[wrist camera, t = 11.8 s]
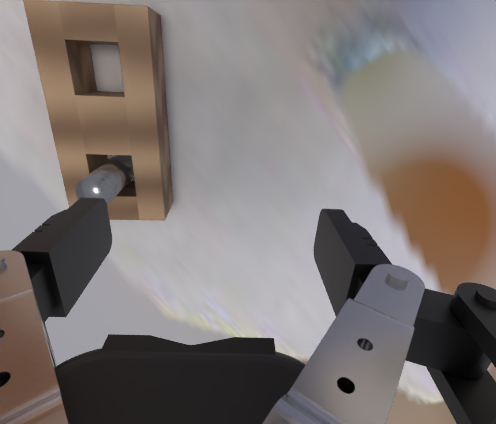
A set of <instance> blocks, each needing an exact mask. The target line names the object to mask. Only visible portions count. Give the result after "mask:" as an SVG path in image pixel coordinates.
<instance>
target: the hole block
mask: <svg viewBox="0 0 496 424" xmlns="http://www.w3.org/2000/svg"><path fill="white" fill-rule="evenodd" d="M23 2H24V7H25V11H26V16H27V20H28V24H29V29H30V33H31V38H32V42H33V47H34V51H35V56H36V60H37V65H38V69H39V74H40V78H41V83H42V87H43V92H44V96H45V101H46V105H47V110H48V114H49V119H50V123H51V128H52V132H53V137H54V141H55V146H56V150H57V154H58V159H59V163H60V168H61V172H62V177H63V181H64V186H65V190H66V195H67V199H68V204H69V207H71V206H72V205H73V204H74V203H75V202H76V201H77V200H78V198H77V196H76V186H77V184H78V183H79V182H80V181H81V180H82V179H84V178H85V177H86V176H88V175H89V174H90V173H92V172H93V171H94V170H96V169H97V168H98V167H100V166H101V165H102V164H104V163H105V162H107V155H132V162H133V170H134V178H135V181H129V182H128V183H127V184H126V186H125V187H124V188H123V189H122V190H121V191H120V192H119V193H118V194H117V195H116V196H115V198H114V199H113V200H112V201H111V202H110V203H109V204H108V205H107V208H108V214H109V219H111V220H163V221H165V219H166V217H167V214H168V212H169V210H170V208H171V206H172V203H173V197H172V182H171V167H170V152H169V137H168V122H167V107H166V92H165V77H164V62H163V47H162V32H161V17H160V14H158V13H157V12H155V11H154V10H152V9H151V8H149V7H148V6H136V5H118V4H100V3H82V2H64V1H46V0H23ZM89 43H94V44H115V45H119V53H120V61H121V70H122V78H123V86H124V92H104V91H97V90H96V83H95V77H94V70H93V64H92V57H91V51H90V44H89Z"/></svg>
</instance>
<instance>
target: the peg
mask: <svg viewBox="0 0 496 424" xmlns="http://www.w3.org/2000/svg"><path fill="white" fill-rule="evenodd" d="M133 177H134V170H133V162H132V155H115V156H113V157H112V158H111V159H109V160H108V161H107V162H105V163H104V164H102V165H101V166H100V167H98V168H97V169H96V170H94V171H93V172H92V173H90V174H89V175H88V176H86V177H85V178H84V179H82V180H81V181H80V182H79V183H78V184H77V186H76V196H77V198H78V199H80V198H81V197H84V198H103V199H105V201H106V203H107V205H108V204H109V203H110V202H111V201H112V200H113V199H114V198H115V196H116V195H117V194H118V193H119V192H120V191H121V190H122V189H123V188H124V187H125V186H126V184H127V183H128V182H129V181H130V180H131V179H132V178H133Z"/></svg>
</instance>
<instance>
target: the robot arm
mask: <svg viewBox="0 0 496 424" xmlns="http://www.w3.org/2000/svg"><path fill="white" fill-rule="evenodd" d="M111 244H112V234H111V227H110V221H109V214H108V208H107V203H106V201H105V199H103V198H84V197H81V198H80V199H78V200H77V201H76V202H75V203H74V204H73V205H72V206H71V207H69V208H68V209H67V210H64V211H61V212H59V213H57V214H55V215H53V216H51V217H50V218H49V219H47V220H46V221H45V222H44V223H43V224H42V226H39V227H38V228H37V229H36V230H35V232H32V233H31V234H30V235H29V236H28V237H26V238H25V239H24V240H23V241H22V242H20V243H19V244H18V245H17V246H16V247H15V248H13V249H12V250H11V251H10V250H8V251H7V250H6V251H0V424H386V423H387V420H388V416H389V413H390V410H391V406H392V403H393V399H394V396H395V393H396V390H397V386H398V383H399V379H400V376H401V373H402V369H403V366H404V363H405V360H406V361H410V362H413V363H416V364H420V365H423V366H426V367H427V369H428V371H429V373H430V375H431V377H432V379H433V380H434V382H435V384H436V386H437V388H438V390H439V391H440V393H441V395H442V397H443V399H444V401H445V403H446V404H447V406H448V408H449V410H450V412H451V414H452V415H453V417H454V419H455V421H456V423H457V424H496V382H495V381H494V379H493V378H492V376H491V375H490V374H489V372H488V371H487V368H488V367H489V365H490V364H491V362H492V363H493V365H494V366H495V367H496V290H495V289H493V288H490V287H488V286H485V285H481V284H477V283H462V284H460V285H459V286H458V287H457V289H456V291H455V293H454V295H450V294H445V293H441V292H437V291H433V290H429V289H425V286H424V283H423V281H422V280H421V279H420V278H419V277H418V276H417V275H416V274H415V273H413V272H411V271H410V270H408V269H405V268H403V267H400V266H396V265H392V263H391V262H390V261H389V259H388V258H387V257H386V255H385V254H384V253H383V251H382V250H381V249H380V247H379V246H377V243H376V242H375V241H374V240H373V239H372V236H371V235H370V234H369V232H368V231H367V230H366V229H365V228H363V227H362V226H360V225H359V224H357V223H352V222H351V221H350V219H349V218H348V216H347V215H346V213H345V212H344V211H343V210H340V209H322V210H321V212H320V216H319V221H318V227H317V232H316V237H315V243H314V258H315V262H316V264H317V267H318V270H319V272H320V275H321V278H322V280H323V283H324V286H325V288H326V291H327V294H328V296H329V299H330V302H331V304H332V307H333V310H334V312H335V315H336V318H335V320H334V322H333V323H332V325H331V326H330V328H329V329H328V331H327V333H326V334H325V336H324V337H323V339H322V340H321V342H320V344H319V345H318V347H317V348H316V350H315V351H314V353H313V355H312V356H311V358H310V359H309V361H308V362H307V364H306V365H305V364H304V363H302V362H301V361H299V360H297V359H295V358H293V357H290V356H288V355H285V354H282V353H279V352H275V344H274V338H241V337H233V338H228V339H223V340H218V341H213V342H207V343H202V344H197V345H186V344H182V343H178V342H174V341H170V340H166V339H162V338H158V337H154V336H149V335H108V337H107V339H106V341H105V343H104V345H103V347H102V349H97V350H93V351H89V352H86V353H83V354H81V355H78V356H75V357H74V358H71V359H69V360H67V361H65V362H63V363H61V364H60V365H58V366H57V364H56V360H55V357H54V354H53V350H52V346H51V343H50V339H49V336H48V332H47V329H46V326H45V321H46V320H47V318H48V317H66V316H67V315H68V313H69V312H70V310H71V308H72V307H73V306H74V304H75V303H76V301H77V300H78V298H79V297H80V295H81V294H82V292H83V290H84V289H85V288H86V286H87V285H88V283H89V282H90V280H91V279H92V277H93V275H94V274H95V273H96V271H97V270H98V268H99V267H100V265H101V263H102V262H103V260H104V259H105V258H106V256H107V255H108V253H109V251H110V249H111Z"/></svg>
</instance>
